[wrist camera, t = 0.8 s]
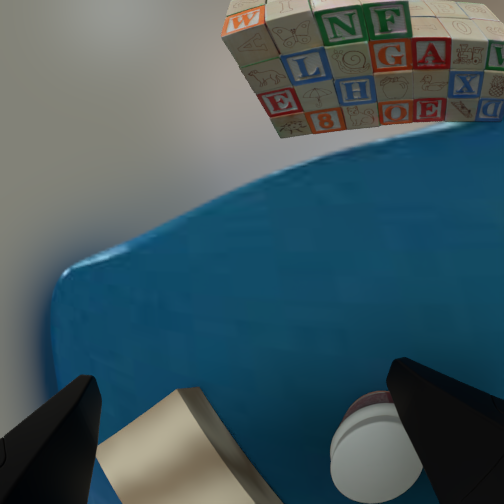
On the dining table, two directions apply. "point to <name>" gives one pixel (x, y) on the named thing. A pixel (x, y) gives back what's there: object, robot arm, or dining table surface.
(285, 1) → the stack of blocks
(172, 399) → the birch block
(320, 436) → the dining table surface
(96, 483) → the dining table surface
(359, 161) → the dining table surface
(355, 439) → the pill bottle
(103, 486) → the dining table surface
